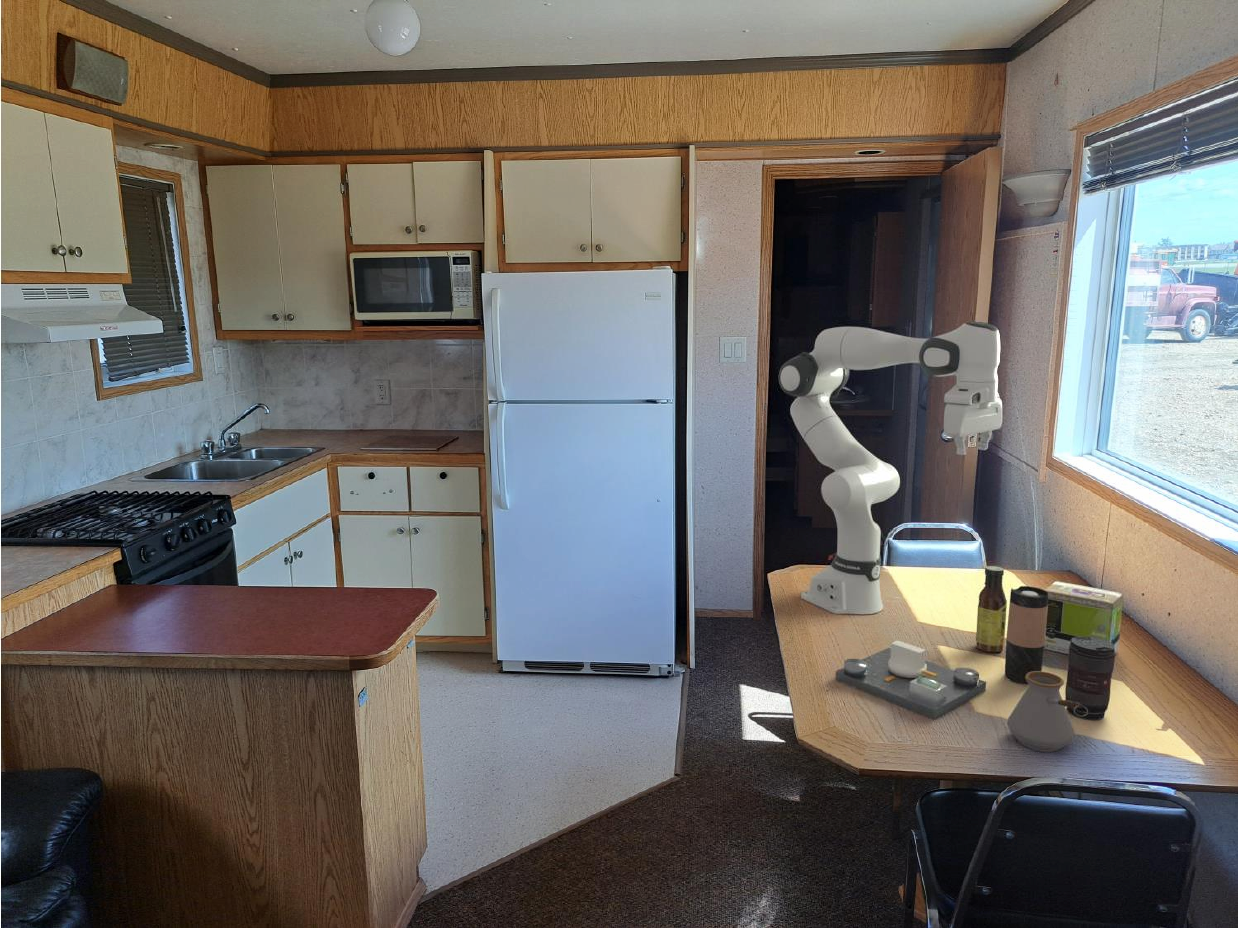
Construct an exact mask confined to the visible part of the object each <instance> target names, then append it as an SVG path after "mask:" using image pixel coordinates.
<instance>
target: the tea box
mask: <svg viewBox="0 0 1238 928" xmlns="http://www.w3.org/2000/svg"><path fill="white" fill-rule="evenodd" d="M1044 590H1045V591H1046V592H1048V594H1049V598H1048V611H1047V623H1046V636H1045V647H1044V650H1045V649H1046V650H1049V651H1052V652H1053V651H1054V652H1058V653H1061V654H1062V653H1063V654H1065V655H1066V654H1067V655H1069V646H1070V643H1071V639H1072V638H1074V637H1080V636H1086V637H1095V638H1099V639H1103V640H1106V641H1108V642H1110V643H1112V644H1113V645H1114V646H1115V655H1116V654H1117V653H1118V651H1119V644H1120V635H1121V623H1122V614H1123V613H1122V611H1123V603H1124V602H1123V600H1124V593H1123V592H1118V591H1115V590H1114V591H1112V590H1108V589H1103V588H1096V587H1091V586H1086V585H1080V584H1075V583H1074V584H1073V583H1068V582H1063V581H1058V580H1055V581H1054V582H1053V583H1052V584H1050V585H1049V586H1048V587H1046V588H1044Z"/></svg>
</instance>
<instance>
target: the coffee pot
mask: <svg viewBox="0 0 1238 928" xmlns="http://www.w3.org/2000/svg"><path fill="white" fill-rule="evenodd" d="M1025 680H1026V681H1027V683H1028V684H1029V685H1027V688H1026V689H1025V691H1024V693H1022V696H1021V698H1020V699H1019V701H1018V702H1017V704H1016V705H1015V707H1014V709H1013V710H1012V712H1011V713H1010V715H1008V718H1007V720H1006V721H1007V727H1008V729H1009V731H1010V733H1011V734H1012V735H1013V737H1014V738H1015V739H1017V741H1018V742H1019V743H1020V744H1022V745H1023V746H1025V747H1026V748H1029V749H1032V750H1036V751H1040V752H1047V753H1049V752H1057V751H1059V750H1061V749H1062V748H1064V747H1066V746H1068V745H1069V744H1070V743H1071V742H1072V740H1073V739H1074V738H1075V729H1074V727H1073V724H1072V721H1071V719H1070V716H1069V714H1068V713H1069V712H1068V710H1067V707H1069V708H1072V707H1073V708H1074V713H1075V709H1077V708H1082V707H1084V706H1083V705H1082V704H1080V703H1078V702H1076V701H1074V702H1073V701H1071V700H1065V699H1063V697H1062V695H1061V692H1060V689H1061V687H1062V686H1064V685H1065V681H1064V679H1063V678H1062V677H1061V676H1059V675H1057V674H1055V673H1053V672H1048V671H1033V672H1029V673H1027V674H1026V676H1025ZM1085 708H1086V707H1085ZM1086 710H1087V708H1086ZM1075 714H1076V713H1075ZM1087 714H1088V710H1087V713H1086V714H1085V715H1087ZM1076 715H1077V714H1076ZM1085 715H1083V716H1085ZM1077 716H1079V715H1077ZM1081 717H1082V716H1081Z"/></svg>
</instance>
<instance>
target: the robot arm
mask: <svg viewBox="0 0 1238 928" xmlns="http://www.w3.org/2000/svg"><path fill="white" fill-rule="evenodd" d="M1000 354H1001V338H1000V332H999V329H998V328H997V327H996V326H995V325H993V324H991V323H988V322H981V321H980V322H979V321H966V322H964V323H963V324H961V326H959V327H958V328H956V329H954V330H951V331H949V332H946V333H943V334H939V335H936V336H933V337H930V338H922V337H920V338H919V337H910V336H904V335H901V334H896V333H892V332H888V331H887V332H886V331H883V330H878V329H874V328H869V327H861V326H837V327H832V328H827V329H824V330H822V331H821V332H820V333H819V334H818V335H817V337H816V338H815V343H814V348H813V350H812V351H811V352H809V353H808V352H807V351H802V352H801V353H799V354H798V355H797V356H795V357H792V358H791V359H789V360H787V361H786V362H784V363H783V364H782V366H781V367H780V369H779V370H778V371H779V373H778V383H779V385H780V388H781V390H782V391H783V392H784V393H785V394H786V395H788V396H792V397H796V398H794V401H793V402H792V403H791V405H790V409H789V411H790V412H789V413H790V416H791V418H792V420H793V423H794V425H795V427H796V429H797V431H798V432H799V435H801V437H802V439H803V440H804V442H805V443H806V445H807V446H808V448H809V449H810V451H811V452H812V454H813V455H814V456H815V458H816V460H818V462H819V463H821V465H823V466H826V467H828V468H830V469H832V470H834V472H832V473H830V474H829V475H827V476H825V478H824V479H823V481H822V484H821V487H820V490H821V496H822V499H823V500H824V502H825V504H826V505H827V506H828V507H829V508H831V510H832V512H833V514H834V517H835V521H836V527H837V542H836V543H837V548H836V549H837V550H836V552H835V553H833V554H830V555H828V556H827V557H828V561H830V560H832V562H831V564H830V565H828V566H827V567H825V568H823V569H822V570H821V571H819V572H818V573H815V574H814V576H812V578H811V581H810V584H809V588H808V589H806V590H804V591H802V592H801V594H800V598H801V599H802V600H803V601H807V602H808V603H811V604H813V605H815V606H818V607H820V608H821V609H825V610H826V611H827V612H830V613H832V614H837V615H843V614H848V615H849V614H851V615H872V614H877V613H879V612H881V611H882V610H884V604H883V600H882V595H881V588H880V586H881V585H880V577H881V571H882V570H881V569H882V568H881V567H882V556H881V554H880V553H881V536H882V535H881V533H882V531H881V527H880V526H879V524H878V523H876V522H875V521H874V520H873V517H872V511H871V508H872V505H874V504H877V503H881V502H885V501H886V500H888V499H890V498H891V497H892V496H894V495H895V494H896V493H897V492H898V490H899V488H900V485H901V479H900V474H899V472H898V470H897V469H896V467H894V466H893V465H892V464H890V463H887V462H885V461H883V460H881V459H880V458H878V457H876V456H875V455H874V454H873V453H871V452H870V451H868V449H866V448H865V446H863V445H862V444H860V442H858V440H857V439H856V438H855V437H854V436H853V434H851V432H850V431H849V429H848V428H847V427H846V426H845V424H844V423H843V421H842V420H841V418H840V417H839V416H838V414H836V412H835V410H834V409H833V408H832V405H831V404H830V400H833V399H836V398H837V397H838V396H839V393H840V391H841V390H842V389H843V388H844V387H845V386H846V384H847V382H848V380H849V377H850V370H854V371H865V370H867V371H869V370H873V369H874V370H875V369H881V368H886V367H890V366H897V365H903V364H914V363H915V364H919V365H920V367H921V369H922V371H923V372H925V373H926V374H927V375H929V376H933V377H937V378H938V377H939V378H940V377H948V376H949V377H950V376H956V384H955V385H953V387H952V388H950V389H949V390H948V391H947V392H946V393H944V395H943V396H944V399H943V402H944V403H947V404H946V405H945V406H944V413H943V433H944V434H945V436H947V437H950V438H951V437H953V440H954V443H955V447H956V452H955V453H956V455H959V456H964V455H967V453H968V446H966V440H967V436H972V435H977V434H980V439H979V441H978V442H977V449H978V450H981V451H986V450H988V448H989V442H990V439H991V437H992V435H993V431H995V430H996V431H997V430H1000V429H1001V427H1002V425H1003V403H1002V400H1001V398H1000V395H999V393H998V385H999V378H998V373H997V372H998V366H999V364H1000V359H1001V358H1000V356H1001V355H1000Z"/></svg>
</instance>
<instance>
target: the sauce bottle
mask: <svg viewBox="0 0 1238 928" xmlns="http://www.w3.org/2000/svg"><path fill="white" fill-rule="evenodd" d="M1004 572H1005V570H1004V568H1003V567H999V566H997V565H994V566H993V565H990V566H989V565H988V566H985V568H984V575H985V578H984V579H985V581H984V587H983V588H982V589H981V591H980V592H979V595H978V604H977V617H976V636H975V641H976V648H978V650H980V651H983V652H986V653H999V652H1003V649H1004V645H1005V640H1006V639H1005V638H1006V637H1005V636H1006V620H1007V609H1008V608H1007V607H1008V606H1007V604H1008V599H1007V598H1006V594H1005V591H1004V587H1003V578H1004V577H1003V576H1004V575H1005V573H1004Z"/></svg>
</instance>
